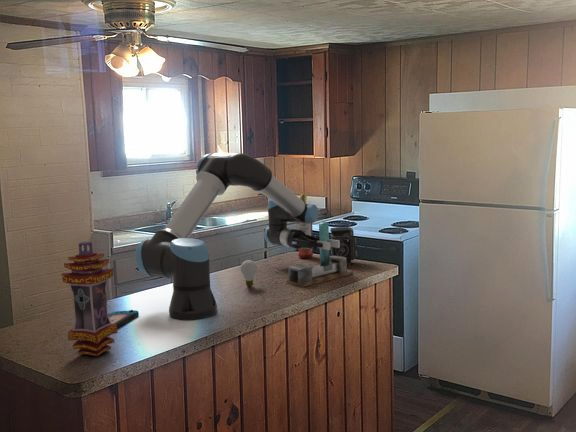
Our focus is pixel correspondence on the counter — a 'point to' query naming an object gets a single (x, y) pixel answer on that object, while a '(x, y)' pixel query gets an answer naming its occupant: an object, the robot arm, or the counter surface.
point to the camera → (344, 243)
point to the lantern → (89, 301)
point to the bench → (303, 276)
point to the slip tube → (324, 254)
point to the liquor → (307, 230)
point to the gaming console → (122, 317)
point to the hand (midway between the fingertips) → (334, 245)
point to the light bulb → (248, 271)
